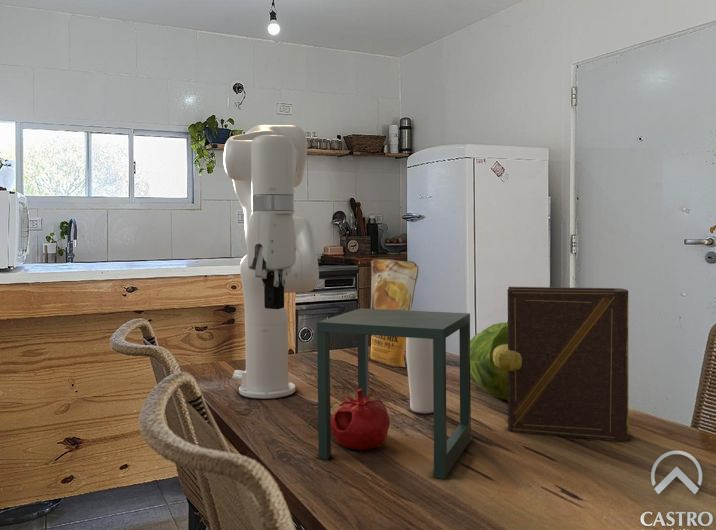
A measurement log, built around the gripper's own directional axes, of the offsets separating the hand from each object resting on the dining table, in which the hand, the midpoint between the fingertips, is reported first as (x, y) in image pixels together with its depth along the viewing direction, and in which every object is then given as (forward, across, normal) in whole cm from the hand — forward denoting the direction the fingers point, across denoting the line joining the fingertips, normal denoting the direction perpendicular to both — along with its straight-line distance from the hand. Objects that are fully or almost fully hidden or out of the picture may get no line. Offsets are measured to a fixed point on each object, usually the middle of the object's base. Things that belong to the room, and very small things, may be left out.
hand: (274, 308), depth 107 cm
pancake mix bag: (+23, -61, +1) cm, 65 cm away
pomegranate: (+22, +1, +17) cm, 28 cm away
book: (+22, -19, +46) cm, 55 cm away
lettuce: (+22, -39, +34) cm, 56 cm away
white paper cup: (+22, -21, +22) cm, 37 cm away
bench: (+22, +1, +24) cm, 32 cm away
